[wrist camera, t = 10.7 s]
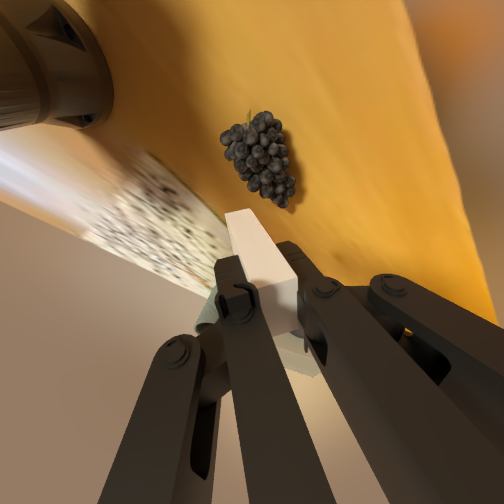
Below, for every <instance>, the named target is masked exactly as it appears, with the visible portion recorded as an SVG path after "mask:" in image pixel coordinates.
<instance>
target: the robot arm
mask: <svg viewBox="0 0 504 504" xmlns="http://www.w3.org/2000/svg"><path fill="white" fill-rule="evenodd" d="M112 105H113V86H112V80H111V76H110V72H109V69H108V66H107V63H106V60H105V58H104V55H103V53H102V51H101V49H100V47H99V45H98V43H97V41H96V40H95V38H94V36H93V35H92V33H91V32H90V30H89V29H88V27H87V26H86V24H85V23H84V22H83V20H82V19H81V18H80V17H79V15H78V14H77V13H76V12H75V11H74V10H73V9H72V8H71V7H70V6H69V5H68V4H67V3H66V2H65V1H64V0H0V131H4V130H9V129H14V128H18V127H23V126H28V125H33V124H38V123H43V124H50V125H56V126H62V127H69V128H75V129H84V128H89V127H93V126H97V125H100V124H101V123H103V122H104V121H105V120H106V119H107V118H108V116H109V114H110V112H111V109H112ZM225 218H226V222H227V227H228V231H229V235H230V240H231V244H232V249H233V253H234V256H230V257H226V258H222V259H218V260H217V261H216V264H215V266H214V272H215V278H216V284H217V290H218V292H217V294H216V295H215V300H214V303H215V306H216V309H217V312H218V315H219V318H218V319H217V321H216V322H215V324H214V325H213V326H212V327H210V328H209V329H208V330H206V331H205V332H203V333H202V334H200V335H198V336H197V337H194V336H192V335H187V334H182V335H178V336H175V337H173V338H171V339H170V340H168V341H166V342H165V343H164V344H163V345H162V346H161V347H160V348H159V350H158V351H157V353H156V355H155V356H154V358H153V361H152V364H151V366H150V369H149V371H148V374H147V376H146V379H145V382H144V384H143V387H142V389H141V392H140V395H139V397H138V400H137V402H136V405H135V408H134V410H133V413H132V415H131V418H130V420H129V423H128V426H127V428H126V431H125V433H124V436H123V439H122V441H121V444H120V446H119V449H118V452H117V454H116V457H115V459H114V462H113V465H112V467H111V470H110V472H109V475H108V478H107V480H106V483H105V485H104V488H103V490H102V493H101V496H100V498H99V501H98V503H97V504H211V501H212V491H213V480H214V470H215V459H216V449H217V437H218V428H219V418H220V407H221V397H222V396H224V395H225V394H226V393H227V392H229V391H230V390H232V396H233V402H234V409H235V415H236V421H237V428H238V434H239V440H240V447H241V453H242V459H243V465H244V472H245V478H246V485H247V491H248V497H249V504H337V503H336V501H335V498H334V496H333V493H332V490H331V488H330V485H329V483H328V480H327V478H326V475H325V472H324V470H323V467H322V465H321V462H320V459H319V457H318V454H317V452H316V449H315V447H314V444H313V441H312V439H311V436H310V434H309V431H308V428H307V426H306V423H305V421H304V418H303V415H302V413H301V410H300V408H299V405H298V403H297V400H296V397H295V395H294V392H293V390H292V387H291V384H290V382H289V379H288V377H287V374H286V371H285V369H284V366H283V364H282V361H281V358H280V356H279V353H278V351H277V348H276V345H275V343H274V340H273V338H272V337H275V336H278V335H281V334H284V333H287V332H291V331H294V330H297V329H299V322H300V324H301V326H302V328H303V329H304V350H305V353H308V348H309V350H310V352H311V353H312V355H313V357H314V359H315V361H316V363H317V365H318V367H319V369H320V371H321V373H322V374H323V376H324V378H325V380H326V382H327V384H328V386H329V388H330V390H331V392H332V394H333V396H334V398H335V399H336V401H337V403H338V405H339V407H340V409H341V411H342V413H343V415H344V417H345V419H346V420H347V422H348V424H349V426H350V428H351V430H352V432H353V434H354V436H355V438H356V439H357V442H358V444H359V445H360V447H361V449H362V451H363V453H364V455H365V457H366V459H367V461H368V463H369V464H370V467H371V468H372V470H373V472H374V474H375V476H376V478H377V480H378V482H379V484H380V486H381V488H382V489H383V491H384V493H385V495H386V497H387V499H388V501H389V503H390V504H504V329H502V328H500V327H498V326H496V325H495V324H493V323H491V322H489V321H487V320H485V319H483V318H481V317H479V316H477V315H475V314H474V313H472V312H470V311H468V310H466V309H464V308H462V307H460V306H458V305H456V304H454V303H452V302H451V301H449V300H447V299H445V298H443V297H441V296H439V295H437V294H435V293H433V292H431V291H429V290H428V289H426V288H424V287H422V286H420V285H418V284H416V283H414V282H412V281H410V280H408V279H406V278H404V277H401V276H399V275H394V274H379V275H376V276H374V277H373V278H372V279H371V281H370V285H369V286H344V285H343V284H342V283H340V282H339V281H338V280H336V279H333V278H330V277H324V275H323V274H322V273H321V272H320V271H319V270H318V269H317V267H316V266H315V265H314V264H313V263H312V262H311V261H310V259H309V258H308V257H307V256H306V255H305V254H304V252H302V250H301V249H300V248H299V247H298V246H297V245H296V244H294V243H292V242H290V241H285V242H282V243H278V244H274V242H273V241H272V239H271V238H270V236H269V235H268V234H267V232H266V231H265V229H264V228H263V226H262V225H261V224H260V222H259V221H258V219H257V218H256V216H255V215H254V213H253V212H252V211H251V209H250V208H247V209H243V210H239V211H234V212H230V213H226V214H225ZM298 320H299V322H298ZM405 328H407V329H408V330H410V331H411V332H412V333H410V332H407V331H405Z"/></svg>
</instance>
